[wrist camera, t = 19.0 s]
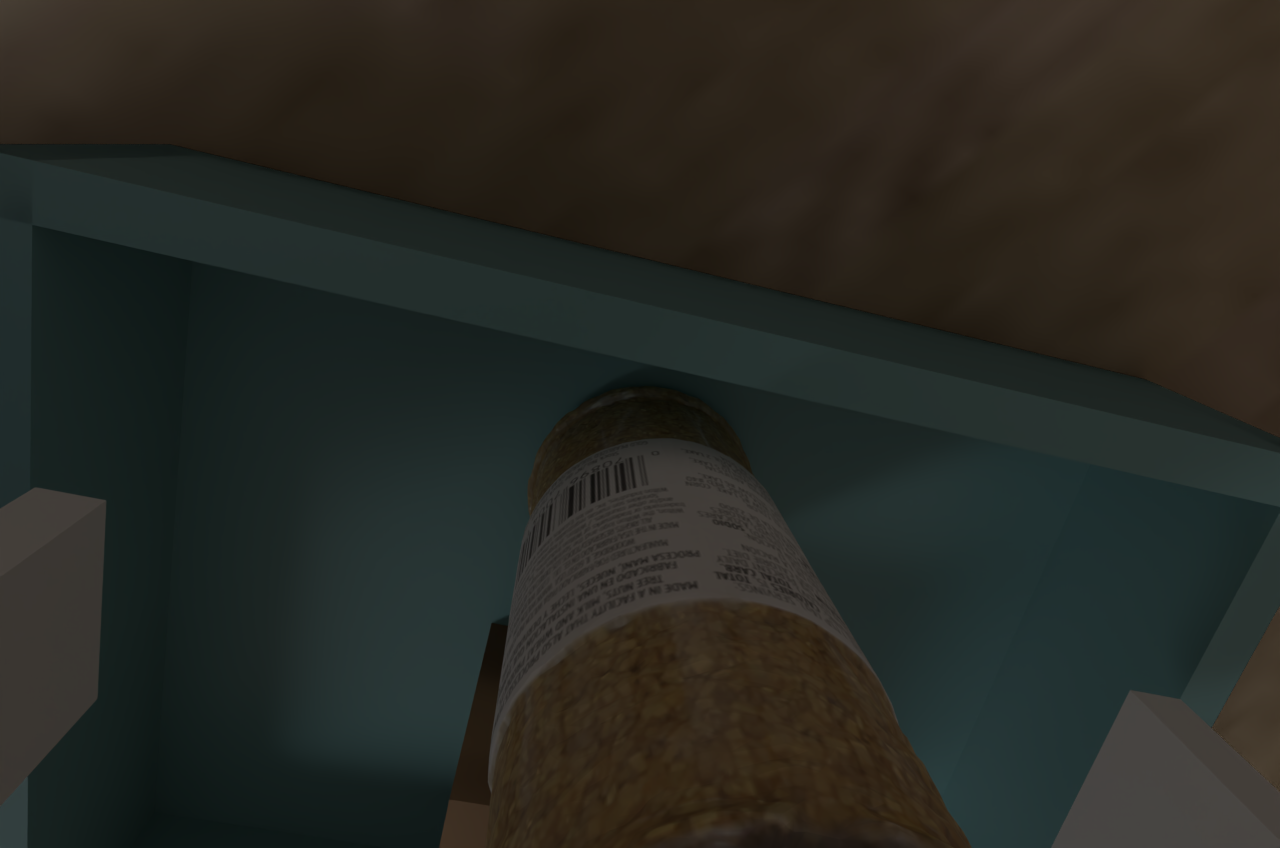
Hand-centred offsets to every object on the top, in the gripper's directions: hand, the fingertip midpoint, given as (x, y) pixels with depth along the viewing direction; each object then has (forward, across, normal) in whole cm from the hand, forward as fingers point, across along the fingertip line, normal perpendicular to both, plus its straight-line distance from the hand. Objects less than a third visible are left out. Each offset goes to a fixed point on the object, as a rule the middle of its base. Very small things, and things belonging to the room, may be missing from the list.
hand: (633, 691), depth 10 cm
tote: (+7, 0, +3) cm, 8 cm away
